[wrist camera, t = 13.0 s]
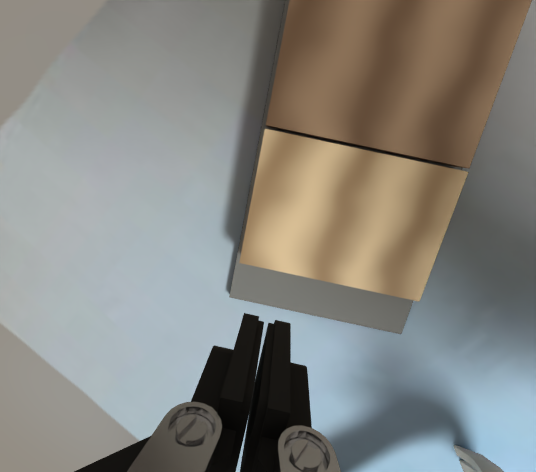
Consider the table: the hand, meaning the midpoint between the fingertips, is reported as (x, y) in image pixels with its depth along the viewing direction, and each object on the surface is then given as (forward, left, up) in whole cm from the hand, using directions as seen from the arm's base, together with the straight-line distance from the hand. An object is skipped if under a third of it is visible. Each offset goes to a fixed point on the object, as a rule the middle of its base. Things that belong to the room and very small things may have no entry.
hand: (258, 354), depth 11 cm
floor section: (-6, -7, -20) cm, 22 cm away
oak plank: (-6, -2, -20) cm, 21 cm away
